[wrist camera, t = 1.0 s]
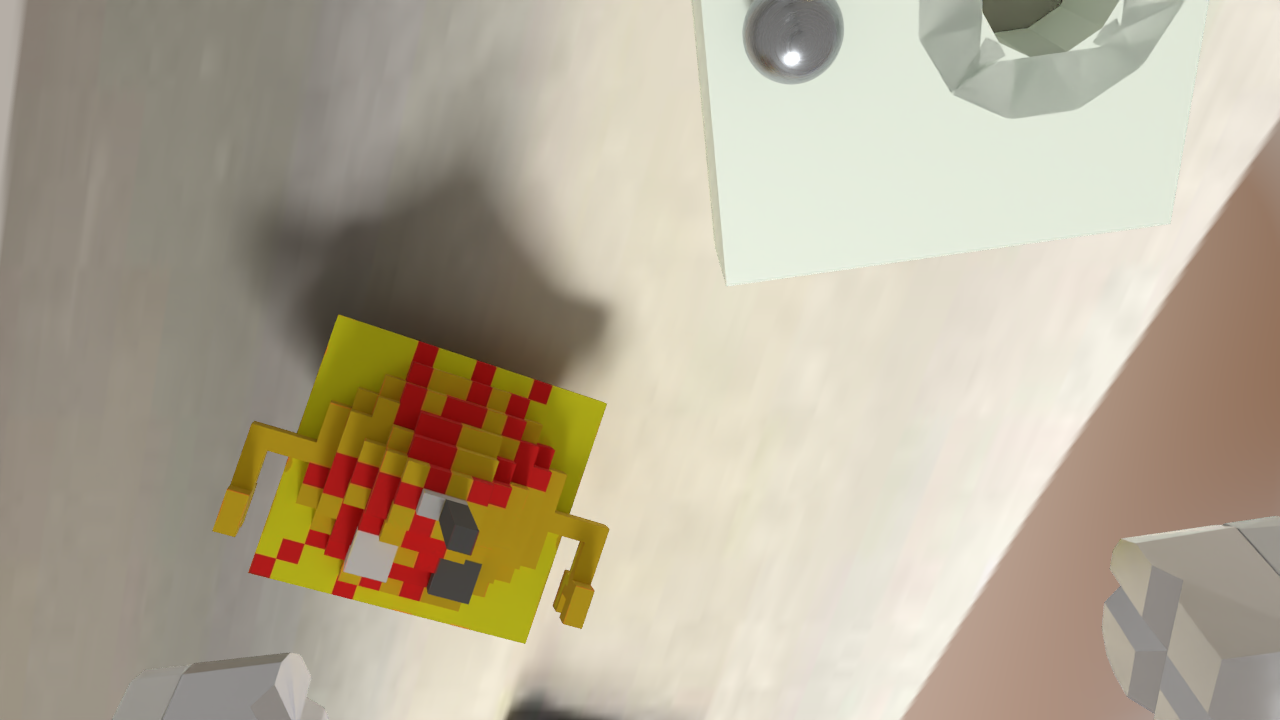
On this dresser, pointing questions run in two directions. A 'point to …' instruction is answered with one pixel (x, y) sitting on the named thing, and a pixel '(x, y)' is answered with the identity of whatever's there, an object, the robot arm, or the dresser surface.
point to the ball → (792, 38)
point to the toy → (426, 486)
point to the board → (945, 132)
